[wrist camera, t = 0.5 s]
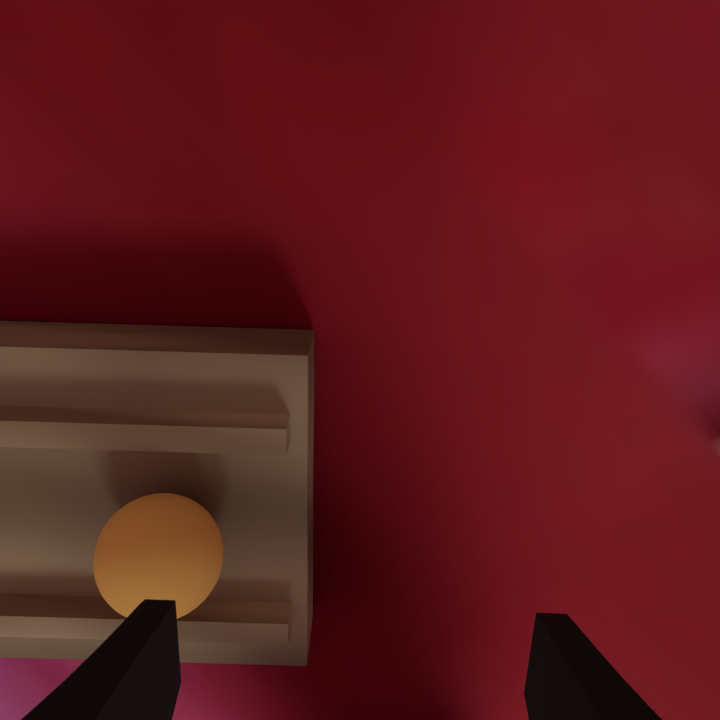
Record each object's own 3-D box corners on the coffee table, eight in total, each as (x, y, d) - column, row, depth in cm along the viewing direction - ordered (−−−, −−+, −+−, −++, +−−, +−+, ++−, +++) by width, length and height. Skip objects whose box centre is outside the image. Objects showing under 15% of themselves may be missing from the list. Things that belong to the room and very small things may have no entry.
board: (312, 614, 24) (301, 716, 20) (-173, 599, 24) (-288, 699, 20) (314, 329, 21) (301, 381, 16) (-258, 312, 20) (-420, 360, 16)
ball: (236, 570, 21) (211, 654, 17) (125, 567, 21) (79, 650, 17) (231, 472, 19) (204, 542, 16) (114, 469, 19) (63, 537, 16)
